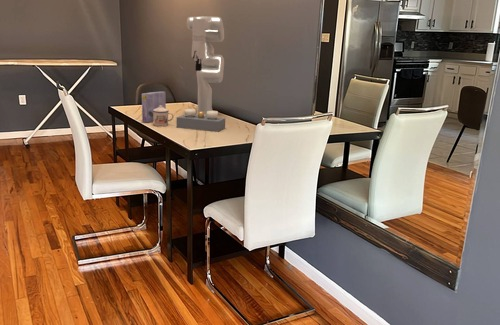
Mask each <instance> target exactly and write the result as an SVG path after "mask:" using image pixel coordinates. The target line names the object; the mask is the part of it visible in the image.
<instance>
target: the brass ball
mask: <svg viewBox="0 0 500 325" xmlns="http://www.w3.org/2000/svg"><path fill="white" fill-rule="evenodd" d="M197 112H198V111H197ZM198 118H204V112H203V111H199V112H198Z"/></svg>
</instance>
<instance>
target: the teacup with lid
mask: <svg viewBox="0 0 500 325" xmlns="http://www.w3.org/2000/svg"><path fill="white" fill-rule="evenodd" d="M169 115H171V119H169ZM153 119H154V122H153V125H154V127H167V126H168V125H169V122H172V121H173V119H174V114H173V113H172V112H169V109H167V108H166V109H165V108H164V107H162V106H161V105H160V106H159V107H158V108H156V109H154V110H153Z"/></svg>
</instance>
